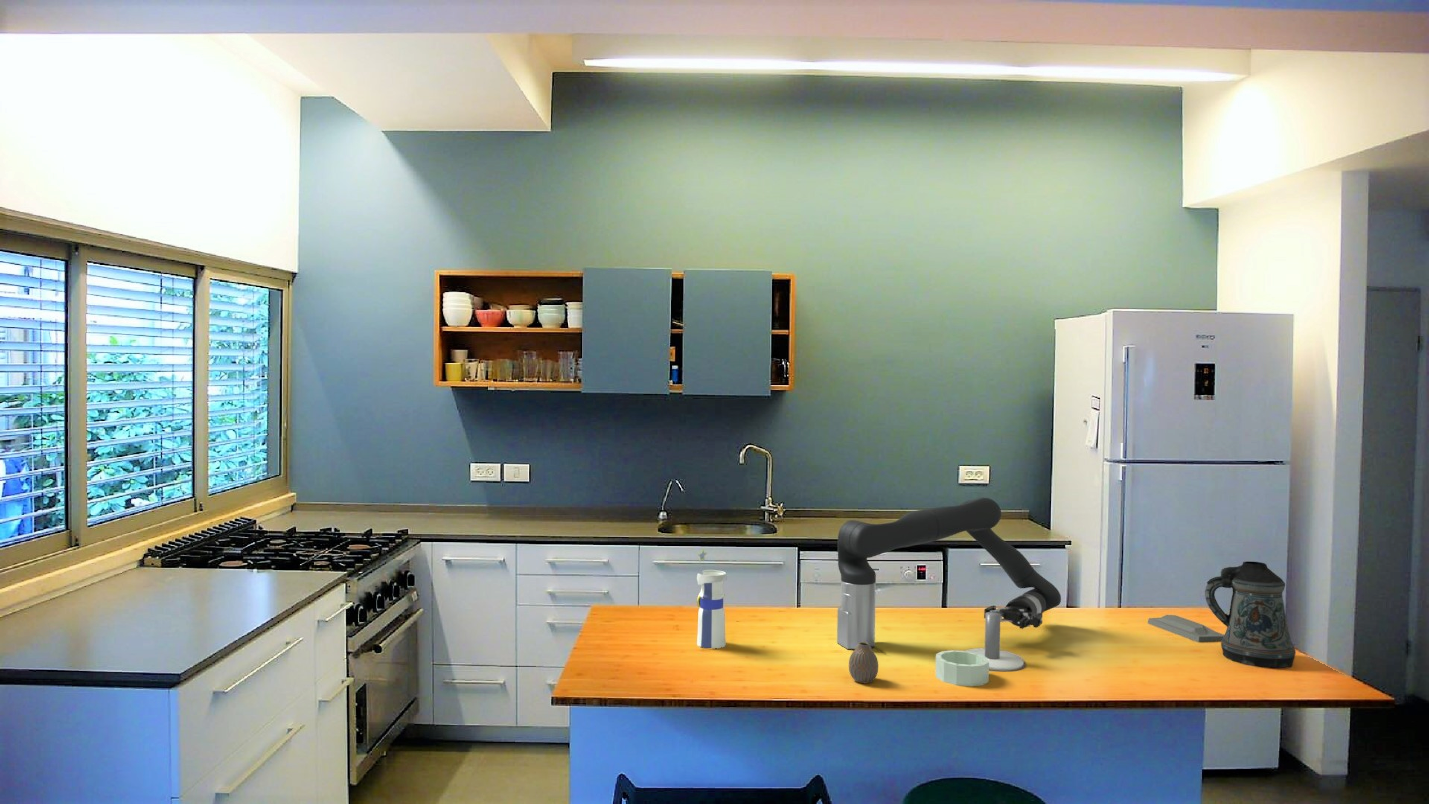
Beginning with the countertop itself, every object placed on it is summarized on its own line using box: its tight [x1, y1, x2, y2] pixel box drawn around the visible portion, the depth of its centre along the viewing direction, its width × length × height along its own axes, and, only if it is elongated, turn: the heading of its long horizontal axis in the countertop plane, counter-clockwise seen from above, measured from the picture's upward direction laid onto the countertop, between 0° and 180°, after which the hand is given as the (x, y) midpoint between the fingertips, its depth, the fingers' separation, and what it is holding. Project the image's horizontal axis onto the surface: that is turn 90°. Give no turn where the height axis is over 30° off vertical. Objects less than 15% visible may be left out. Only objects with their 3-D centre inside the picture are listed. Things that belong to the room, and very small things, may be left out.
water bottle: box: [696, 549, 728, 650], centre depth 231 cm, size 8×8×25 cm
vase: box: [848, 642, 879, 684], centre depth 205 cm, size 7×7×9 cm
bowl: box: [935, 649, 990, 687], centre depth 207 cm, size 12×12×5 cm
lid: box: [965, 612, 1025, 672], centre depth 219 cm, size 15×15×12 cm
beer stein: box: [1204, 561, 1297, 670], centre depth 225 cm, size 16×19×25 cm
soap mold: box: [1147, 614, 1225, 643], centre depth 251 cm, size 10×20×4 cm, turn 13°
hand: (1004, 621), depth 227 cm, fingers open, 8 cm apart
